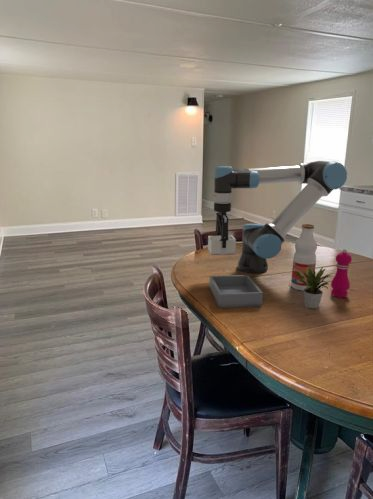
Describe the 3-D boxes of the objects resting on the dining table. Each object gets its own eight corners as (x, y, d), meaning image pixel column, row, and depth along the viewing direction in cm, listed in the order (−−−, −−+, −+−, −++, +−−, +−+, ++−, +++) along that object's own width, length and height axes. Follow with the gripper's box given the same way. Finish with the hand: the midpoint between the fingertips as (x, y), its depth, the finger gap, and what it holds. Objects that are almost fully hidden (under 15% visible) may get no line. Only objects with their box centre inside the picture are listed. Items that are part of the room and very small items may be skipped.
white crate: (231, 249, 176) (231, 235, 174) (235, 254, 168) (235, 239, 166) (208, 250, 174) (208, 235, 172) (211, 255, 167) (211, 240, 165)
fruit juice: (315, 291, 161) (322, 227, 153) (294, 291, 161) (299, 227, 153) (309, 283, 170) (315, 223, 162) (288, 283, 170) (293, 222, 162)
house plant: (326, 318, 135) (331, 275, 131) (288, 309, 142) (292, 268, 138) (334, 305, 147) (339, 265, 143) (299, 297, 154) (303, 259, 150)
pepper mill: (340, 299, 152) (346, 252, 147) (326, 293, 159) (331, 247, 153) (352, 296, 156) (358, 250, 150) (338, 290, 162) (343, 246, 157)
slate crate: (247, 286, 165) (247, 274, 164) (262, 306, 145) (263, 292, 144) (209, 288, 163) (209, 276, 162) (219, 308, 143) (219, 294, 142)
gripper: (209, 199, 174) (208, 246, 181) (219, 206, 155) (217, 258, 161) (225, 198, 175) (224, 245, 181) (236, 205, 155) (234, 258, 162)
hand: (221, 251), depth 171 cm, fingers closed on white crate, 8 cm apart
